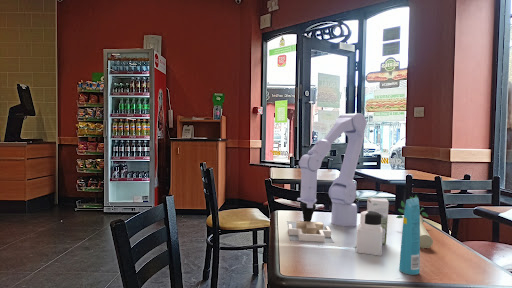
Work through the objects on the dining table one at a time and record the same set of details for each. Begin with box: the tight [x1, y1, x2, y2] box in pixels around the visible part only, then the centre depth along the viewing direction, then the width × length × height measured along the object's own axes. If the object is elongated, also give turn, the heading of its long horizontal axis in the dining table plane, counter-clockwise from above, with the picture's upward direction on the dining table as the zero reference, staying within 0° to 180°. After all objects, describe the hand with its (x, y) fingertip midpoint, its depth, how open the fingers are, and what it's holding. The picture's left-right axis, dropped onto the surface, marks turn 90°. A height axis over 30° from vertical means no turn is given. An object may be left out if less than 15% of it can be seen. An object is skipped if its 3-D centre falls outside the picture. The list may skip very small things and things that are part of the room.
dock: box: [287, 224, 332, 243], centre depth 122 cm, size 14×13×2 cm
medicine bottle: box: [355, 210, 383, 257], centre depth 110 cm, size 7×7×12 cm
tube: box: [398, 196, 421, 276], centre depth 94 cm, size 7×5×19 cm, turn 140°
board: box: [286, 221, 335, 245], centre depth 128 cm, size 14×26×1 cm, turn 177°
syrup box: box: [366, 196, 390, 245], centre depth 121 cm, size 6×6×14 cm
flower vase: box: [395, 195, 434, 249], centre depth 132 cm, size 12×12×35 cm
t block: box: [295, 220, 324, 234], centre depth 122 cm, size 9×9×4 cm
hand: (307, 223), depth 134 cm, fingers closed
